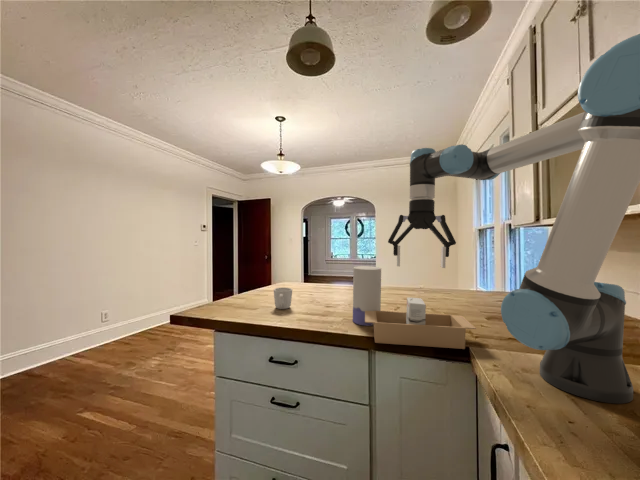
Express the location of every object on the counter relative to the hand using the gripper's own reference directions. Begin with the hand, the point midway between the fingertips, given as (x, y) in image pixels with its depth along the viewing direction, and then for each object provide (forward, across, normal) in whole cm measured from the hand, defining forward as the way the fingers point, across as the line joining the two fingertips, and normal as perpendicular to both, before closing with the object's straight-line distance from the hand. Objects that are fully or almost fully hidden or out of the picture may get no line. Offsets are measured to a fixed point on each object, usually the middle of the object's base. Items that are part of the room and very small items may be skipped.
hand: (420, 266), depth 91 cm
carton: (+22, +2, +2) cm, 22 cm away
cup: (+22, +52, -20) cm, 60 cm away
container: (+22, +17, -10) cm, 30 cm away
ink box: (+22, +2, +2) cm, 22 cm away
